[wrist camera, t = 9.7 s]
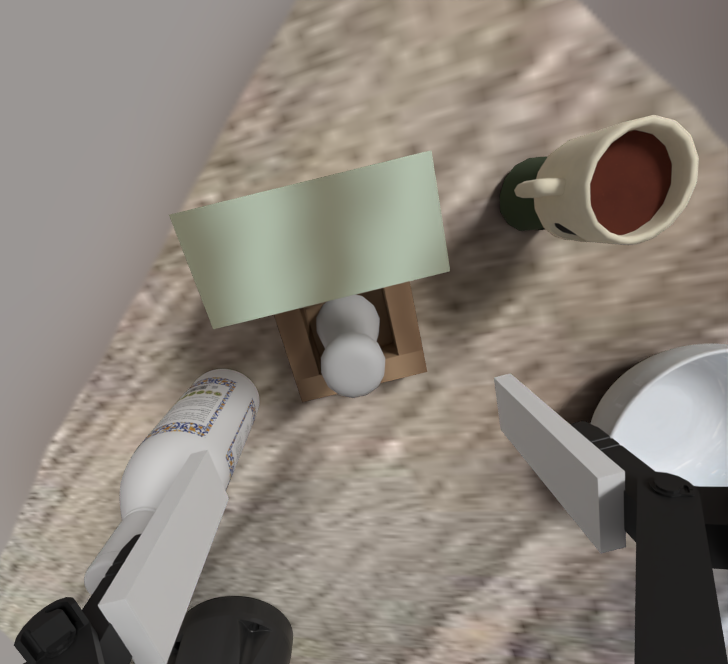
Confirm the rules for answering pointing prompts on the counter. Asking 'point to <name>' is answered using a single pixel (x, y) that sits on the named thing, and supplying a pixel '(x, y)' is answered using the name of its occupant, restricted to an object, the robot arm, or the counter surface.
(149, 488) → the bath foam
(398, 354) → the socket station
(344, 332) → the salt shaker
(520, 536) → the counter surface
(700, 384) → the serving bowl
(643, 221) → the character mug
